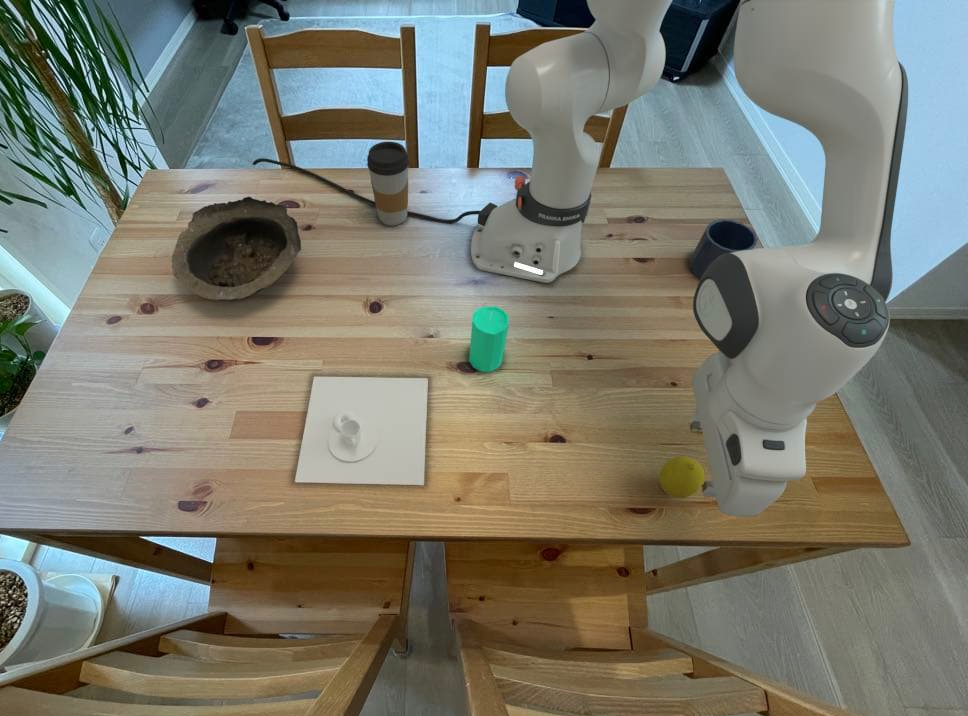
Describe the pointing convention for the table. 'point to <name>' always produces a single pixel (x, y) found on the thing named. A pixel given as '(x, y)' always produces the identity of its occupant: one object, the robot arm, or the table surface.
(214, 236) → the stone bowl
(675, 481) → the lemon
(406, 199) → the coffee cup
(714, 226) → the glazed cup
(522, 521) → the table surface
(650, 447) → the table surface
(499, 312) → the candle
